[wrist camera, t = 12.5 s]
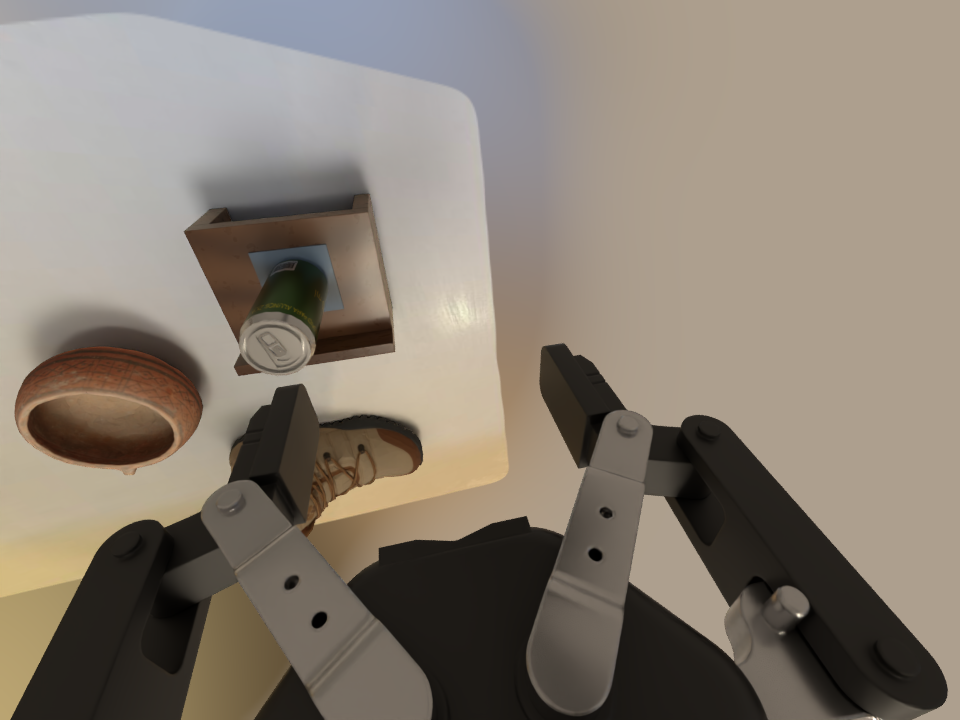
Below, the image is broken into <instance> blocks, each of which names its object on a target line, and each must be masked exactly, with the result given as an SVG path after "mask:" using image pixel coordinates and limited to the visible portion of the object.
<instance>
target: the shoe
mask: <svg viewBox="0 0 960 720" xmlns="http://www.w3.org/2000/svg"><path fill="white" fill-rule="evenodd" d="M319 430H320V435H319V442H318V449H317V455H316V462H315V468H314V475H313V481H312V487H311V494H310V500H309V507H308V513H307V520H306V523H303V524H298V525H296V526H297V527H298V528H299V530H300V531H301V532H302V533H303V534H304V535H305V536H306V538H307V536H308V535H309V534H310V532H311V531H312V529H313V526H314V523H315V520H316V519H318V518H319V517H320V516H321V513H322V512H323V511H324V509H325V507H328V503H329V502H331V501H333V500H334V499H336V497H337V496H339V495H344V494H346V493H347V492H348V491H349V490H351V489H353V488H355V487H357V486H358V487H361V486H363V485H367V484H371V483H372V482H374V480H375V479H379V478H383V477H394V476H402V475H407V474H411V473H413V472H414V471H415V470H417V468H418V467H419V465H421V464H422V462H423V451H422V445H421V442H420V440H419V438H418V437H417V436H416V435H415V434H413V433H412V431H411V430H409V429H404V426H401V425H399V424H398V425H395V422H392V421H390V420H389V423H388V422H386V420H385V419H384V418H380V417H379V419H376V416H370V418H367V417H366V416H361V418H358V416H355V417H352V419H351V420H349V419H348V418H347V419H343V422H341V423H339V421H336V422H334V423H333V424H330V423H324V426H321V424H319ZM244 436H245V435H244ZM244 436H243V438H242V439H240V440H237V441H236V442H235V443H234V444H233V447H232V449H231V452H230V457H229V461H230V466H231V473H232V470H233V467H234V464H235V462H236V459H237V456H238V453H239V450H240V448H241V445H243V443H242V442H243V439H244Z"/></svg>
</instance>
